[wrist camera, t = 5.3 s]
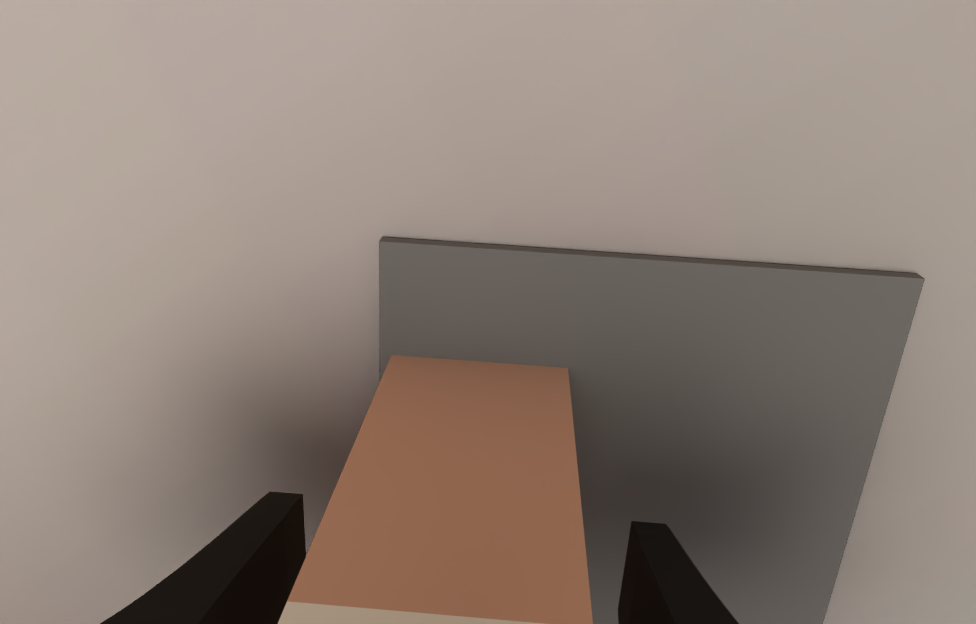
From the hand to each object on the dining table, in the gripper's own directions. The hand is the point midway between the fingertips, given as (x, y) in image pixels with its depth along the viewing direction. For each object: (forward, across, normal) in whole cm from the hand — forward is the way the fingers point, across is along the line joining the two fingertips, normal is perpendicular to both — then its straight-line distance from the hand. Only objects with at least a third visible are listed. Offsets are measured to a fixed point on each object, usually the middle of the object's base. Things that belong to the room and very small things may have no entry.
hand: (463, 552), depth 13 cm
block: (+2, 0, 0) cm, 2 cm away
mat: (+3, -3, 0) cm, 4 cm away
